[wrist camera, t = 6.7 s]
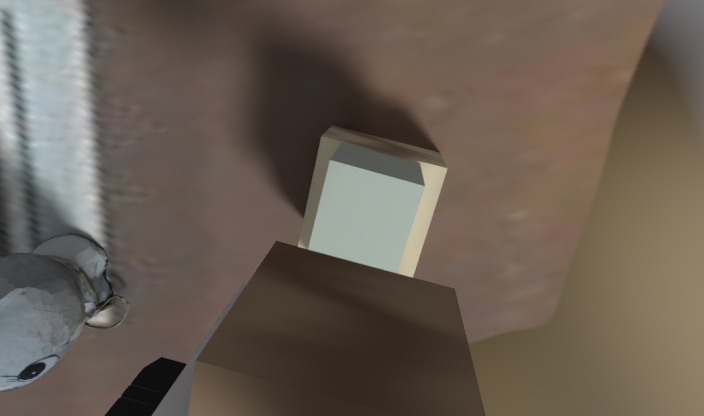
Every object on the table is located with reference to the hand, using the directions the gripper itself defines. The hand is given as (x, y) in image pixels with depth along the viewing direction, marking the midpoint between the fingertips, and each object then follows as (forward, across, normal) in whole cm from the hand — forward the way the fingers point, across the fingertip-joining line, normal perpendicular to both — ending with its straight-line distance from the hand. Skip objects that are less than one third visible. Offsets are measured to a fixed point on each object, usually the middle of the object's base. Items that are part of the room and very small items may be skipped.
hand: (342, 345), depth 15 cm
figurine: (+19, -22, -14) cm, 32 cm away
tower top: (+14, 0, 0) cm, 14 cm away
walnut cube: (0, 0, 0) cm, 0 cm away
